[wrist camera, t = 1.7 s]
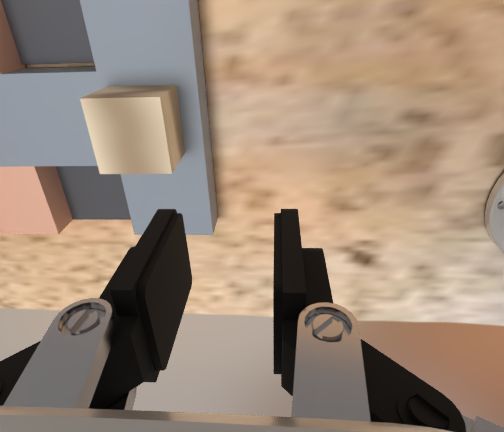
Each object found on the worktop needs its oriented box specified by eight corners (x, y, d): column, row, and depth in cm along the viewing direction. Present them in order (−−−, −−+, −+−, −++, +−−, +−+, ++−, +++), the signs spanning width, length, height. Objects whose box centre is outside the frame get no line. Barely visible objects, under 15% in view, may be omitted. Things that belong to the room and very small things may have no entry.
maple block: (176, 84, 25) (160, 96, 21) (185, 152, 27) (171, 173, 24) (106, 86, 25) (79, 98, 22) (121, 153, 28) (99, 174, 24)
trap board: (193, -43, 24) (170, -58, 18) (217, 217, 34) (207, 255, 28) (-101, -29, 25) (-199, -39, 20) (6, 217, 35) (-41, 253, 30)
